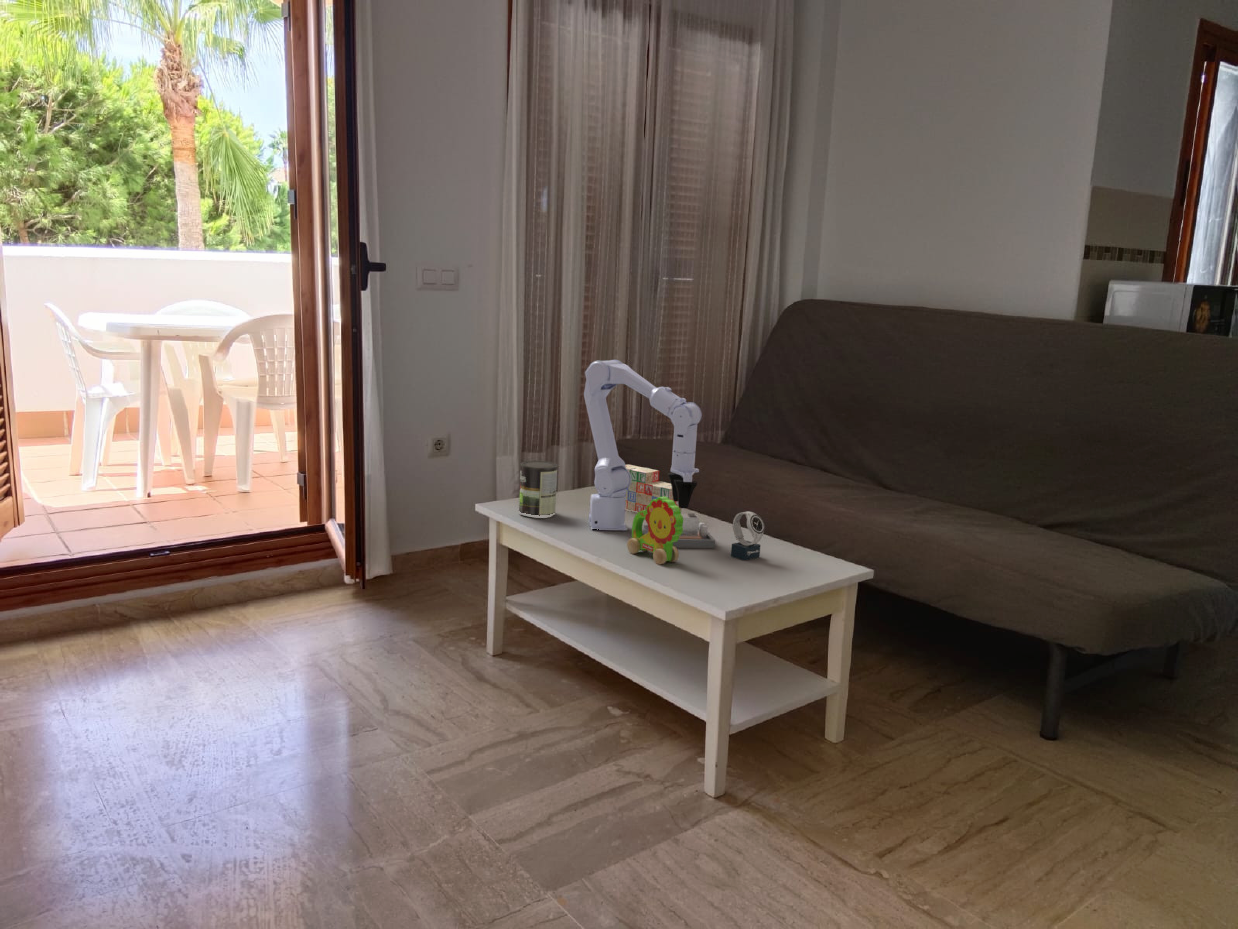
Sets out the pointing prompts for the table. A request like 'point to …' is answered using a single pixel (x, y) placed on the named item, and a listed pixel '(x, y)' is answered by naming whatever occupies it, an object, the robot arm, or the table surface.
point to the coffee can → (538, 487)
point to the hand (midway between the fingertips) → (680, 504)
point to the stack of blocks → (645, 488)
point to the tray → (693, 539)
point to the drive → (690, 525)
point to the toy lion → (658, 530)
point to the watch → (743, 547)
